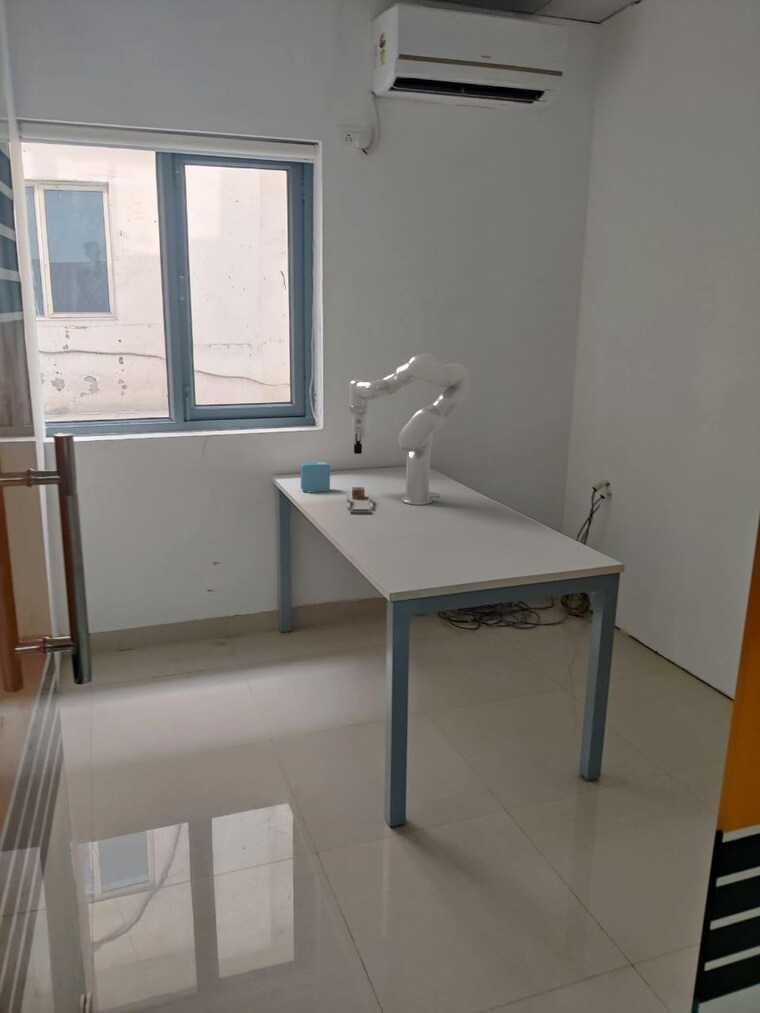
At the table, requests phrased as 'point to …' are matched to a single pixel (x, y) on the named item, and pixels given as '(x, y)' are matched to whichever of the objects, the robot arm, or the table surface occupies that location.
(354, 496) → the walnut block
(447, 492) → the table surface
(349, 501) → the walled lane
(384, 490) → the table surface
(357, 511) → the tray
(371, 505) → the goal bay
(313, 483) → the data package
